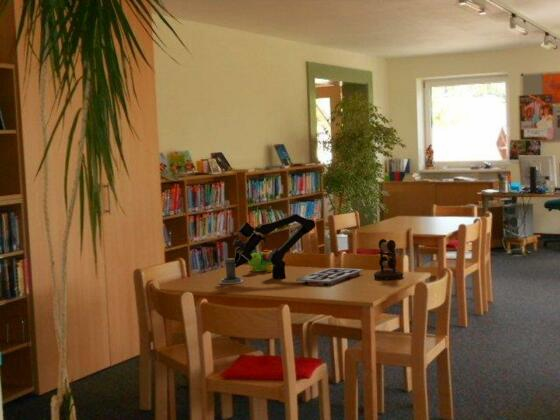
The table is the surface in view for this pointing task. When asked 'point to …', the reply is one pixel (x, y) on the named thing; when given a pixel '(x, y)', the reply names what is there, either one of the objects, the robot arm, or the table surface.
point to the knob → (230, 268)
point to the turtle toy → (260, 262)
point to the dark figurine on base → (387, 260)
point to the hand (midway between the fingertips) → (233, 266)
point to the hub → (231, 281)
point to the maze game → (330, 276)
